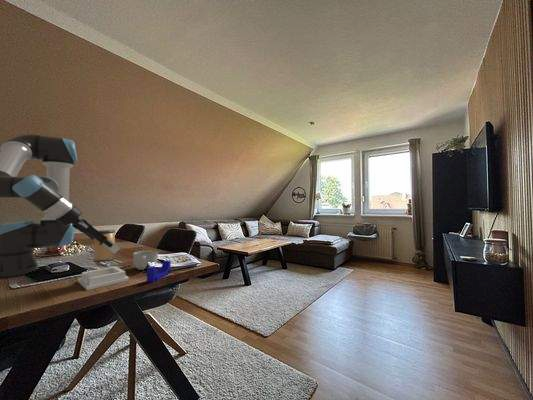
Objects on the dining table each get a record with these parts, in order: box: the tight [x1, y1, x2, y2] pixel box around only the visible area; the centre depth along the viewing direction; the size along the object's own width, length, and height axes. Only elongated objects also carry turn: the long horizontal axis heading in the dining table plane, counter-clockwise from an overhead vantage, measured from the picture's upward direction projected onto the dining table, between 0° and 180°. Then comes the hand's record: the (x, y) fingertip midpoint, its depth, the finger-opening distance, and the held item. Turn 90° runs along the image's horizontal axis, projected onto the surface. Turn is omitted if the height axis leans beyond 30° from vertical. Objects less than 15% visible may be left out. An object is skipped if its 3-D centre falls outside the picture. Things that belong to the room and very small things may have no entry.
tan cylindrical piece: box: [92, 229, 116, 263], centre depth 93 cm, size 7×7×12 cm
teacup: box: [132, 250, 159, 271], centre depth 110 cm, size 14×11×8 cm
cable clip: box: [146, 260, 172, 283], centre depth 98 cm, size 12×4×6 cm, turn 171°
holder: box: [77, 266, 130, 291], centre depth 93 cm, size 14×14×4 cm
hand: (114, 249), depth 95 cm, fingers closed on tan cylindrical piece, 7 cm apart
